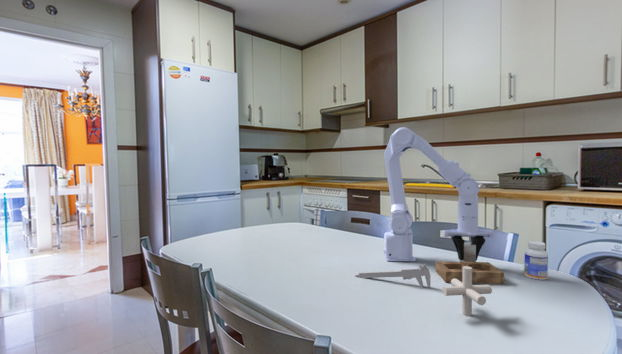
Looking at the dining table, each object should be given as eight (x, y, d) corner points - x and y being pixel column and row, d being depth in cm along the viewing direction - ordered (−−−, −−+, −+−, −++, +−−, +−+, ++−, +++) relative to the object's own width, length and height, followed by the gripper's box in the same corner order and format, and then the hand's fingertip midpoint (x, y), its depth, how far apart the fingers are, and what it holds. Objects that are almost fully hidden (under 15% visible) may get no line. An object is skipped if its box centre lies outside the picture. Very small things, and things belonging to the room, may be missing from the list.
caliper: (430, 288, 82) (430, 264, 82) (430, 289, 81) (430, 265, 81) (355, 276, 91) (355, 254, 91) (354, 277, 90) (354, 255, 90)
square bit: (463, 267, 97) (464, 244, 97) (459, 263, 101) (459, 242, 101) (475, 267, 97) (475, 245, 97) (470, 264, 100) (471, 242, 100)
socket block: (445, 282, 85) (445, 271, 85) (435, 271, 94) (435, 261, 94) (504, 283, 84) (504, 272, 84) (488, 272, 93) (488, 262, 93)
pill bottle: (524, 272, 92) (524, 239, 92) (547, 275, 89) (548, 241, 89) (523, 277, 88) (524, 243, 88) (548, 281, 85) (548, 246, 84)
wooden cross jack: (433, 304, 72) (433, 261, 71) (475, 302, 73) (475, 259, 72) (457, 327, 62) (457, 276, 61) (505, 324, 63) (505, 274, 62)
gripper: (448, 218, 95) (448, 263, 96) (498, 218, 94) (498, 263, 94) (440, 215, 102) (440, 256, 103) (487, 215, 101) (487, 257, 101)
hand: (467, 259), depth 99 cm, fingers closed on square bit, 3 cm apart
